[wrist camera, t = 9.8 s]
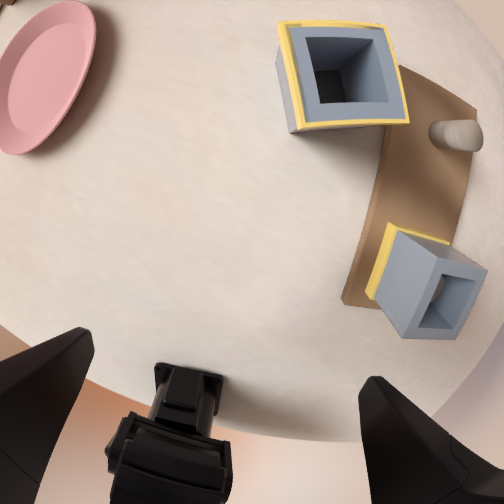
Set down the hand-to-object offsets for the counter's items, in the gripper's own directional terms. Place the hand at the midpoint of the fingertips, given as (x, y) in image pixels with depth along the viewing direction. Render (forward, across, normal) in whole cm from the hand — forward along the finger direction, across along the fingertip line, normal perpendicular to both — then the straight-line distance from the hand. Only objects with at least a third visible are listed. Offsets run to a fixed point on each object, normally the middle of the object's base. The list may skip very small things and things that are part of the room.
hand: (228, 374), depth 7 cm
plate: (+12, +20, -12) cm, 26 cm away
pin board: (+12, -12, -6) cm, 18 cm away
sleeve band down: (+11, -12, -1) cm, 16 cm away
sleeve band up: (+12, -3, -11) cm, 17 cm away
